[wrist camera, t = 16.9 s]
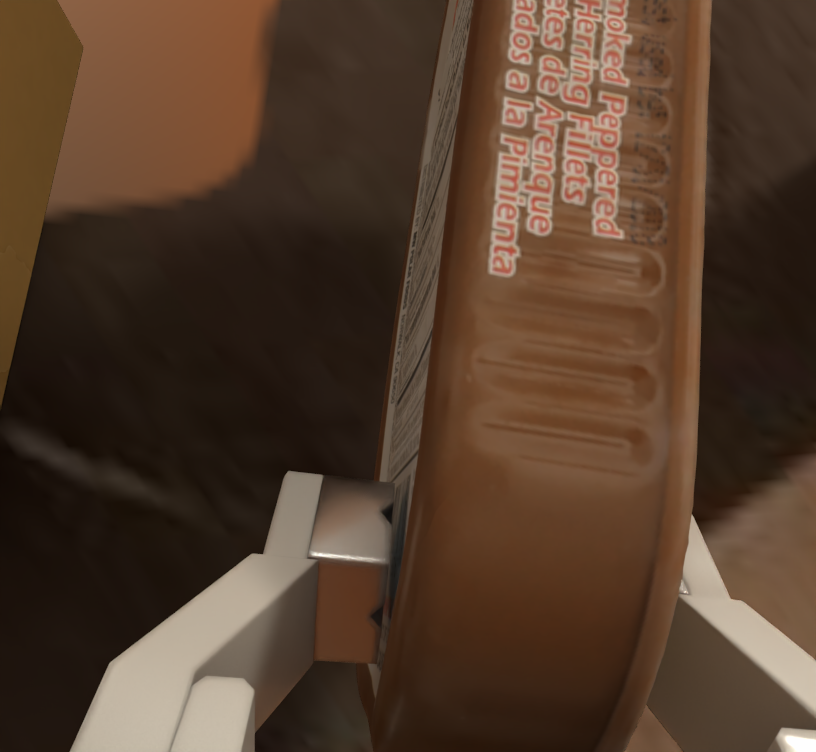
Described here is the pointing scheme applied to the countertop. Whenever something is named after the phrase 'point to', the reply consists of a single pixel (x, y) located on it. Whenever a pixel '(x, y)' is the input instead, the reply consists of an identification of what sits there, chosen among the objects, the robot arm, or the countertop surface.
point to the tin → (544, 378)
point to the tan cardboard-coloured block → (29, 142)
